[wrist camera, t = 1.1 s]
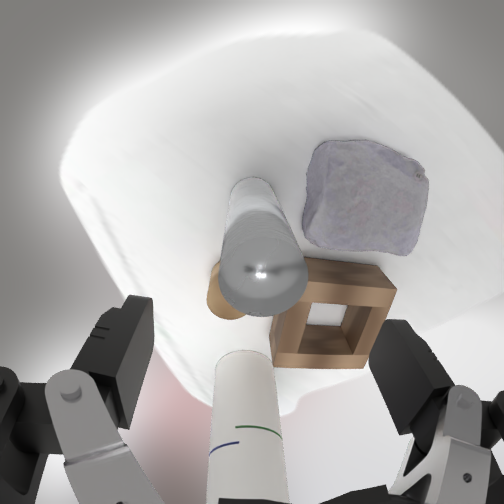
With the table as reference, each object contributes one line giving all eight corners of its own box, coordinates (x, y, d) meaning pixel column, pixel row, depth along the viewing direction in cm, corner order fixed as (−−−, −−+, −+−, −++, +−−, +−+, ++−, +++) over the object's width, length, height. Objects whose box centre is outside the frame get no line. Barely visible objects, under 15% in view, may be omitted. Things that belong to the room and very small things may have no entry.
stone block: (305, 137, 27) (296, 241, 29) (320, 128, 22) (309, 252, 24) (410, 157, 28) (400, 249, 30) (436, 155, 23) (425, 260, 25)
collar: (377, 265, 30) (397, 289, 26) (350, 340, 34) (363, 368, 30) (286, 255, 29) (294, 279, 25) (269, 336, 33) (272, 367, 29)
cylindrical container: (205, 361, 35) (185, 568, 12) (260, 342, 34) (278, 567, 11) (231, 395, 37) (230, 575, 14) (282, 379, 36) (307, 569, 13)
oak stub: (254, 260, 30) (256, 283, 26) (248, 295, 31) (249, 321, 27) (212, 255, 29) (208, 278, 25) (209, 291, 31) (205, 316, 27)
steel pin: (278, 180, 27) (317, 243, 13) (271, 222, 28) (298, 319, 14) (233, 174, 26) (222, 231, 13) (227, 217, 28) (214, 311, 14)
